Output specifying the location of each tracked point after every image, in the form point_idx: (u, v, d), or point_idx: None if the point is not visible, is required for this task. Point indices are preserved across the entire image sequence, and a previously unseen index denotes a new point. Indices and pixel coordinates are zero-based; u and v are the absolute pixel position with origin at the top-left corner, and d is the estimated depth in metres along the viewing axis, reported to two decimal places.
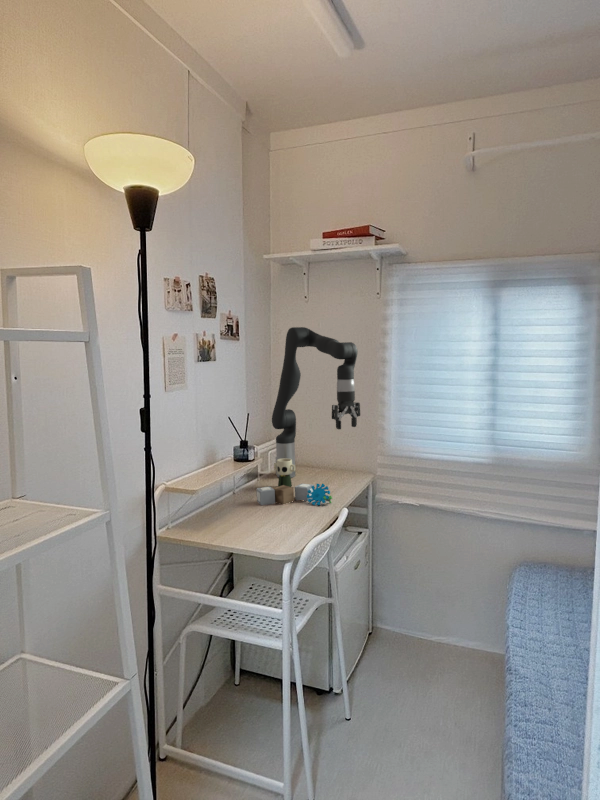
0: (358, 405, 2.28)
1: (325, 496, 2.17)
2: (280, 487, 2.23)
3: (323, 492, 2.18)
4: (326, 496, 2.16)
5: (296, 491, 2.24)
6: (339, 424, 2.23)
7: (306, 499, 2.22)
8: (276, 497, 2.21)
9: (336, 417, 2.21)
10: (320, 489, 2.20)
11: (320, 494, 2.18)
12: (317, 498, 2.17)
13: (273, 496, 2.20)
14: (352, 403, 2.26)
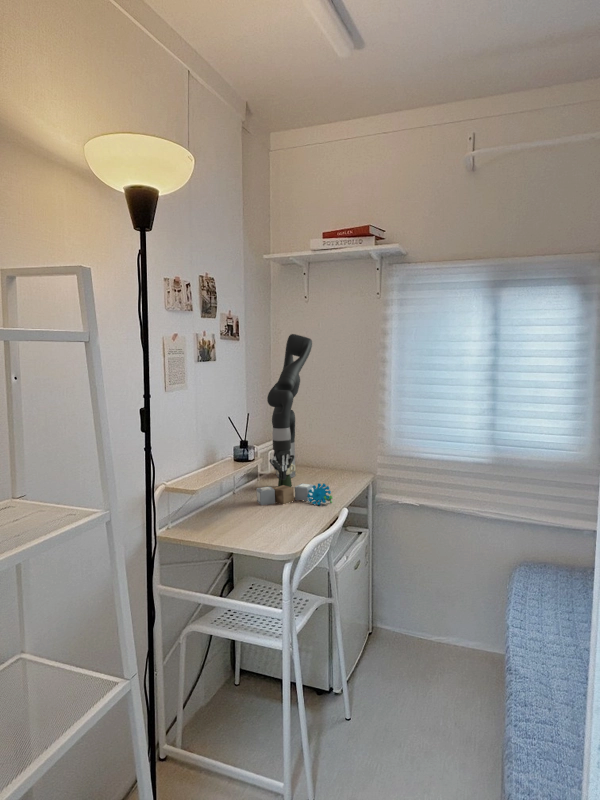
0: None
1: (325, 496, 2.17)
2: (280, 487, 2.23)
3: (324, 492, 2.18)
4: (326, 496, 2.17)
5: (296, 491, 2.24)
6: None
7: (306, 499, 2.22)
8: (276, 497, 2.21)
9: None
10: (321, 489, 2.20)
11: (321, 494, 2.18)
12: (318, 498, 2.18)
13: (273, 496, 2.20)
14: None
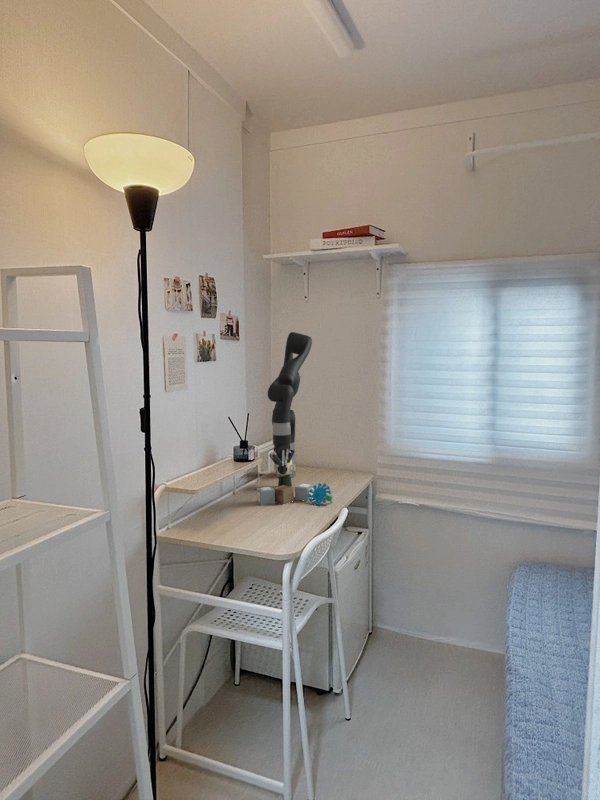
0: None
1: (326, 496, 2.17)
2: (280, 487, 2.23)
3: (324, 492, 2.19)
4: (327, 496, 2.17)
5: (296, 491, 2.24)
6: None
7: (306, 499, 2.22)
8: (276, 497, 2.21)
9: None
10: (321, 489, 2.20)
11: (321, 494, 2.18)
12: (318, 498, 2.18)
13: (273, 496, 2.20)
14: None
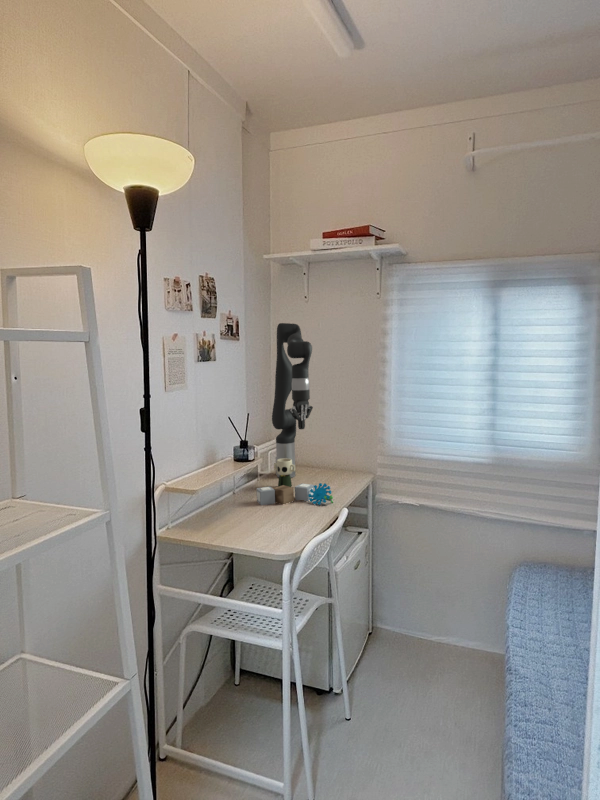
0: None
1: (326, 496, 2.17)
2: (280, 487, 2.23)
3: (324, 492, 2.19)
4: (327, 496, 2.17)
5: (296, 491, 2.24)
6: None
7: (306, 499, 2.22)
8: (276, 497, 2.21)
9: None
10: (322, 489, 2.20)
11: (321, 494, 2.19)
12: (318, 497, 2.18)
13: (273, 496, 2.20)
14: None
